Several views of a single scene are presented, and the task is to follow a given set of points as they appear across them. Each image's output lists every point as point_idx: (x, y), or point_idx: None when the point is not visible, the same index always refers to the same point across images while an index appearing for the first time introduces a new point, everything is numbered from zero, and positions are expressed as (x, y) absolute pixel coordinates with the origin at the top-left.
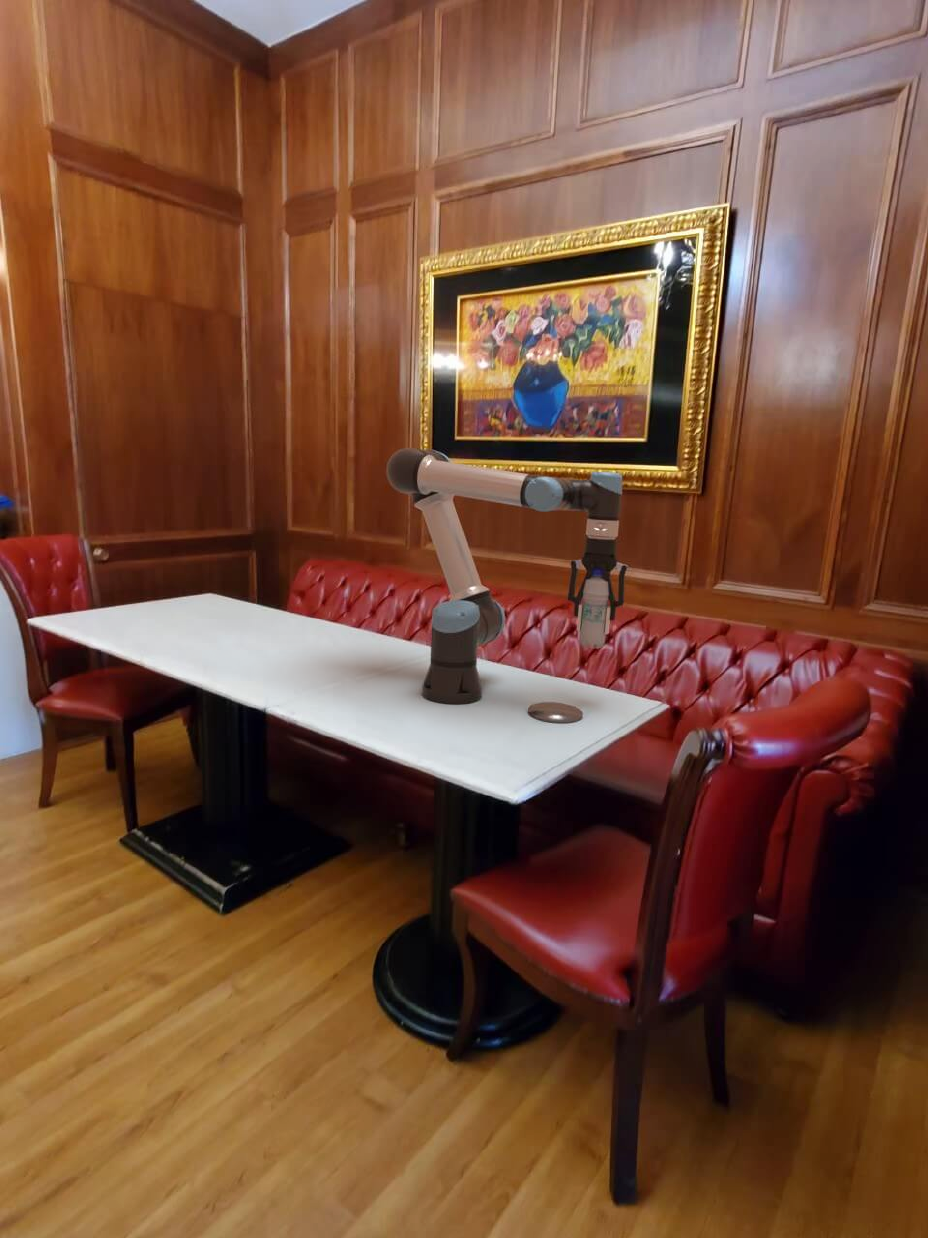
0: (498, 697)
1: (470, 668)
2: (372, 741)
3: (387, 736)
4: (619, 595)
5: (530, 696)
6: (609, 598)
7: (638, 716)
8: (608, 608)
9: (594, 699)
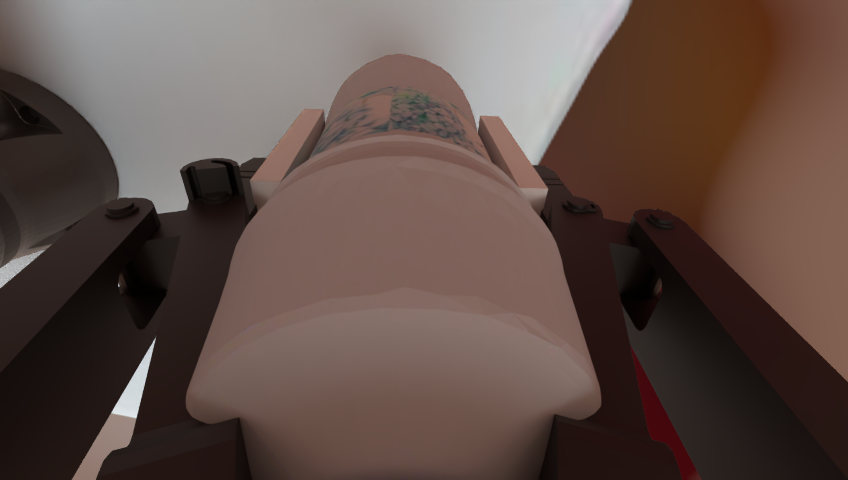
0: (144, 121)
1: (24, 233)
2: (121, 414)
3: (123, 397)
4: (646, 351)
5: (221, 67)
6: None
7: (552, 129)
8: None
9: (424, 4)
